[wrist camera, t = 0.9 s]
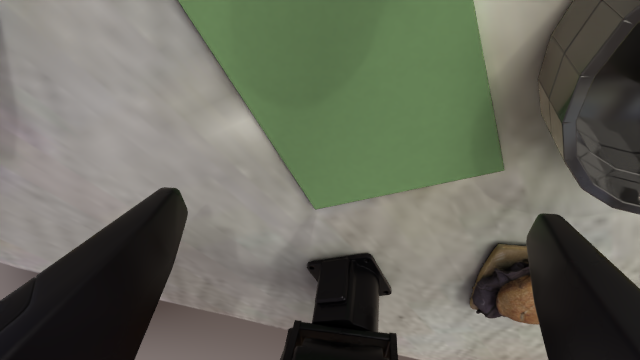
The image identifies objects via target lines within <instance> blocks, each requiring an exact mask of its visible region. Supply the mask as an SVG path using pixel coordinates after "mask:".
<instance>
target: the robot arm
mask: <svg viewBox="0 0 640 360" xmlns="http://www.w3.org/2000/svg"><path fill="white" fill-rule="evenodd" d="M187 215H188V211H187V207H186V205H185V202H184V200H183V198H182V195H181V193H180V191H179V190H178V189H177V188H167V187H164V188H161V189H159V190H157V191H156V192H155V193H153V194H152V195H150V196H149V197H147V198H146V199H145V200H143V201H142V202H140V203H139V204H138V205H136V206H135V207H133V208H132V209H130V210H129V211H128V212H126V213H125V214H123V215H122V216H120V217H119V218H118V219H116V220H115V221H113V222H112V223H111V224H109V225H108V226H106V227H105V228H103V229H102V230H101V231H99V232H98V233H96V234H95V235H93V236H92V237H91V238H89V239H88V240H86V241H85V242H84V243H82V244H81V245H79V246H78V247H76V248H75V249H74V250H72V251H71V252H69V253H68V254H67V255H65V256H64V257H62V258H61V259H59V260H58V261H57V262H55V263H54V264H52V265H51V266H49V267H48V268H47V269H45V270H44V271H42V272H41V273H39V274H38V275H37V276H36V278H32V279H31V280H29V281H28V282H27V283H25V284H24V285H22V286H21V287H19V288H18V289H17V290H15V291H14V292H12V293H11V294H9V295H8V296H6V297H5V298H3V299H2V300H0V360H134V359H135V357H136V354H137V352H138V349H139V347H140V344H141V342H142V340H143V338H144V335H145V333H146V330H147V328H148V326H149V323H150V320H151V318H152V316H153V313H154V311H155V308H156V306H157V304H158V301H159V299H160V297H161V294H162V292H163V289H164V287H165V285H166V282H167V280H168V277H169V275H170V272H171V270H172V267H173V264H174V261H175V258H176V254H177V251H178V247H179V244H180V240H181V237H182V234H183V230H184V227H185V223H186V220H187ZM526 244H527V253H528V260H529V268H530V276H531V284H532V291H533V298H534V304H535V308H536V313H537V317H538V321H539V325H540V328H541V332H542V336H543V340H544V344H545V348H546V352H547V356H548V360H640V289H639V288H638V287H637V286H636V285H635V284H634V283H633V282H632V281H631V280H630V279H629V278H627V277H626V276H625V275H624V274H623V273H622V272H621V271H620V270H619V269H618V268H617V267H616V266H614V265H613V264H612V263H611V262H610V261H609V260H608V259H607V258H606V257H605V256H604V255H603V254H602V253H600V252H599V251H598V250H597V249H596V248H595V247H594V246H593V245H592V244H591V243H590V242H589V241H587V240H586V239H585V238H584V237H583V236H582V235H581V234H580V233H579V232H578V231H577V230H576V229H574V228H573V227H572V226H571V225H570V224H569V223H568V222H567V221H566V220H565V219H564V218H563V217H561V216H560V215H557V214H539V215H538V216H537V218H536V220H535V222H534V224H533V225H532V227H531V229H530V231H529V233H528V235H527V240H526ZM307 269H308V270H309V271H310V273H311V274H312V275H313V277H314V278H315V279H316V280H317V282H318V286H317V292H316V298H315V308H314V314H313V320H312V323H305V322H301V321H298V320H295V322H294V326H293V328H290V329H289V330H288V335H287V339H286V344H285V348H284V351H283V354H282V356H281V358H280V360H398V353H397V337H396V333H390V334H388V333H380V332H378V317H379V296H383V295H390V294H391V287H390V285H389V284H388V282H387V280H386V278H385V277H384V275H383V273H382V272H381V270H380V268H379V266H378V265H377V263H376V261H375V260H374V258H373V256H372V255H371V254H368V253H365V254H358V255H352V256H345V257H338V258H331V259H324V260H318V261H311V262H308V264H307Z"/></svg>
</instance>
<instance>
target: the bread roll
mask: <svg viewBox="0 0 640 360" xmlns="http://www.w3.org/2000/svg"><path fill="white" fill-rule="evenodd" d="M487 259H488V260H487V261H486V262H485V264H484V263H483V265H484V266H483V268H481V270H480V273H479V275H478V277H477V280H476V283H475V287H472V289H473V293H472V296H471V298H470V307H471V308H472V309H476V310H477V311H476V313H477V314H479V313H482V314H484V315H485V317H487V318H496V317H500V316H503V317H509V318H511V319H512V320H515V321H518V322H522V323H528V324H539V321H538V317H537V313H536V308H535V304H534V298H533V291H532V284H531V276H530V268H529V260H528V253H527V246H518V245H507V244H506V245H504V244H498V245H497V247H496V248H495V249H494V251H493V252H491V255H489V257H488V258H487Z"/></svg>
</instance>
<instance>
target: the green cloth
mask: <svg viewBox="0 0 640 360" xmlns="http://www.w3.org/2000/svg"><path fill="white" fill-rule="evenodd" d="M178 1H179V3H180V4H181V6H182V7H183V9H184V10H185V12H186V13H187V15H188V16H189V18H190V20H191V21H192V23H193V24H194V26H195V27H196V29H197V30H198V32H199V33H200V35H201V36H202V38H203V39H204V41H205V42H206V44H207V45H208V47H209V48H210V50H211V52H212V53H213V55H214V56H215V58H216V59H217V61H218V62H219V64H220V65H221V67H222V68H223V70H224V71H225V73H226V74H227V76H228V77H229V79H230V80H231V82H232V84H233V85H234V87H235V88H236V90H237V91H238V93H239V94H240V96H241V97H242V99H243V100H244V102H245V103H246V105H247V106H248V108H249V109H250V111H251V112H252V114H253V115H254V117H255V119H256V120H257V122H258V123H259V125H260V126H261V128H262V129H263V131H264V132H265V134H266V135H267V137H268V138H269V140H270V141H271V143H272V144H273V146H274V147H275V149H276V151H277V152H278V154H279V155H280V157H281V158H282V160H283V161H284V163H285V164H286V166H287V167H288V169H289V170H290V172H291V173H292V175H293V176H294V178H295V179H296V181H297V183H298V184H299V186H300V187H301V189H302V190H303V192H304V193H305V195H306V196H307V198H308V199H309V201H310V202H311V204H312V205H313V207H314V208H315V209H320V208H325V207H330V206H335V205H340V204H345V203H350V202H354V201H359V200H364V199H369V198H374V197H379V196H383V195H388V194H393V193H398V192H403V191H408V190H413V189H417V188H422V187H427V186H432V185H437V184H442V183H446V182H451V181H456V180H461V179H466V178H471V177H475V176H480V175H485V174H490V173H495V172H500V171H504V165H503V159H502V154H501V149H500V143H499V138H498V132H497V127H496V122H495V116H494V111H493V105H492V100H491V94H490V89H489V84H488V78H487V73H486V67H485V62H484V57H483V51H482V46H481V40H480V35H479V29H478V24H477V19H476V13H475V8H474V2H473V0H178Z"/></svg>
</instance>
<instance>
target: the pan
mask: <svg viewBox="0 0 640 360" xmlns="http://www.w3.org/2000/svg"><path fill="white" fill-rule="evenodd" d="M538 78H539V79H538V86H539V97H540V108H541V115H542V117H543V119H544V121H545V123H546V125H547V127H548V129H549V131H550V133H551V135H552V138H553V140H554V142H555V144H556V146H557V148H558V150H559V152H560V154H561V156H562V158H563V160H564V162H565V164H566V165H567V167H568V168H569V170H570V171H571V173H572V175H573V176H574V178H575V179H576V181H577V182H578V184H579V186H580V187H581V188H582V189H583V190H584V191H586V192H588V193H589V194H591V195H592V196H594V197H596V198H597V199H599V200H601V201H602V202H604V203H605V204H607V205H609V206H610V207H612V208H615V209H619V210H623V211H628V212H632V213H636V214H640V0H574V1H573V2H572V4H571V5H570V7H569V8H568V10H567V11H566V13H565V14H564V16H563V18H562V19H561V21H560V22H559V24H558V25H557V27H556V28H555V30H554V31H553V33H552V35H551V37H550V41H549V44H548V47H547V51H546V54H545V57H544V61H543V64H542V67H541V71H540V74H539V77H538Z"/></svg>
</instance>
